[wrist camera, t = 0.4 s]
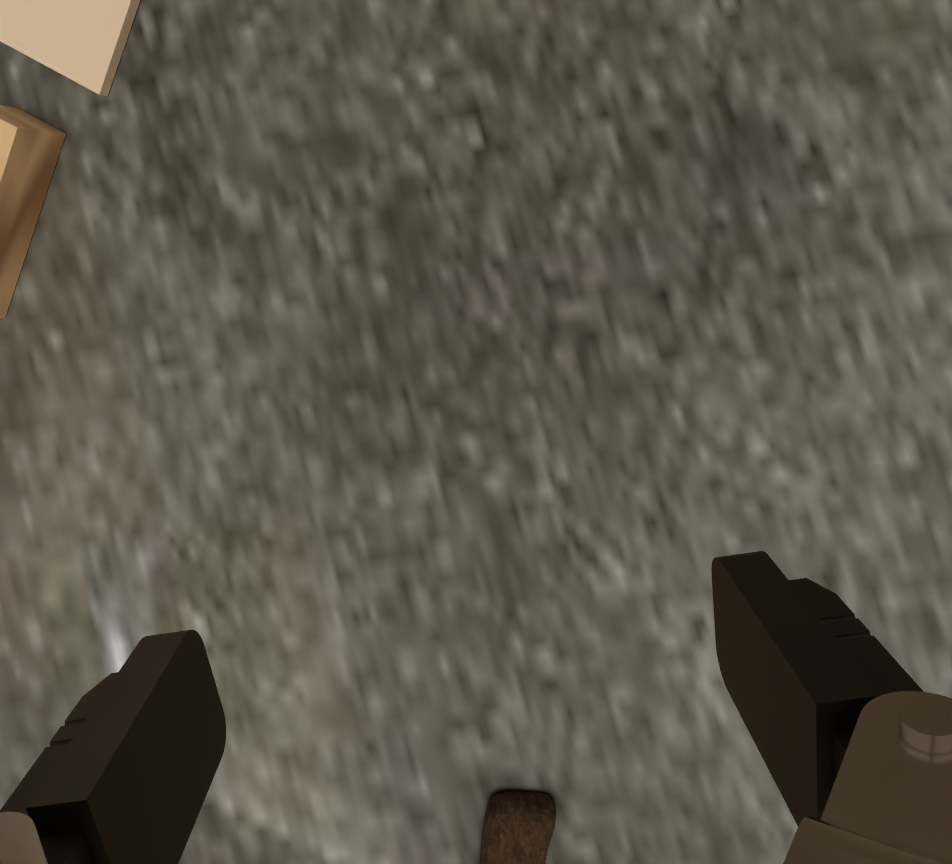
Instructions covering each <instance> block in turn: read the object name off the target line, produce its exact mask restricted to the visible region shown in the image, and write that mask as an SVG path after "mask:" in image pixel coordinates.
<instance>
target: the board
mask: <svg viewBox="0 0 952 864" xmlns="http://www.w3.org/2000/svg"><path fill="white" fill-rule="evenodd" d="M139 3H140V0H0V41H1V42H3V43H4V44H6V45H8V46H10V47H12V48H14V49H16V50H17V51H19V52H21V53H23V54H25V55H27V56H29V57H30V58H32V59H34V60H36V61H38V62H40V63H42V64H43V65H45V66H47V67H49V68H51V69H53V70H55V71H56V72H58V73H60V74H62V75H64V76H66V77H68V78H69V79H71V80H73V81H75V82H77V83H79V84H81V85H82V86H84V87H86V88H88V89H90V90H92V91H94V92H95V93H97V94H99V95H104V96H108V94H109V91H110V88H111V85H112V82H113V79H114V76H115V73H116V70H117V67H118V64H119V61H120V58H121V56H122V53H123V50H124V47H125V44H126V41H127V38H128V35H129V32H130V29H131V26H132V23H133V20H134V18H135V15H136V12H137V9H138V6H139Z"/></svg>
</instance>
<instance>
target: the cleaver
mask: <svg viewBox="0 0 952 864" xmlns="http://www.w3.org/2000/svg"><path fill="white" fill-rule="evenodd" d="M555 820H556V806H555V802H554V801H553V800H552V799H551V798H550V797H549V796H548V795H547V794H543V793H538V792H504V793H498V794H496V795H495V796H494V797H493V798H492V799H491V800H490V801H489V804H488V807H487V810H486V815H485V821H484V826H483V834H482V843H481V853H480V864H544V863H545V859H546V855H547V851H548V847H549V843H550V840H551V837H552V834H553V831H554V828H555Z"/></svg>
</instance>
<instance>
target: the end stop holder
mask: <svg viewBox="0 0 952 864" xmlns="http://www.w3.org/2000/svg"><path fill="white" fill-rule="evenodd" d="M65 136H66V133H64V132H62V131H60V130H58V129H56V128H55V127H53V126H51V125H49V124H47V123H45V122H43V121H41V120H40V119H38V118H36V117H34V116H32V115H30V114H28V113H26V112H25V111H23V110H21V109H19V108H16V107H10V106H3V105H0V319H3V318H5V317H6V314H7V311H8V308H9V305H10V302H11V299H12V296H13V293H14V290H15V287H16V284H17V281H18V278H19V275H20V272H21V269H22V266H23V263H24V260H25V257H26V254H27V251H28V248H29V245H30V241H31V238H32V235H33V232H34V229H35V226H36V223H37V220H38V217H39V214H40V211H41V208H42V205H43V202H44V199H45V196H46V193H47V190H48V187H49V184H50V181H51V178H52V175H53V172H54V169H55V166H56V163H57V160H58V157H59V154H60V151H61V148H62V145H63V142H64V139H65Z"/></svg>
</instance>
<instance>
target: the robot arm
mask: <svg viewBox="0 0 952 864" xmlns="http://www.w3.org/2000/svg"><path fill="white" fill-rule="evenodd" d="M712 588H713V604H714V621H715V637H716V650H717V657H718V662H719V666H720V670H721V674H722V677H723V680H724V683H725V685H726V688H727V690H728V692H729V694H730V696H731V698H732V700H733V701H734V703H735V705H736V707H737V709H738V711H739V713H740V715H741V717H742V719H743V721H744V723H745V725H746V727H747V729H748V730H749V732H750V734H751V736H752V738H753V740H754V742H755V744H756V746H757V748H758V750H759V752H760V754H761V756H762V758H763V759H764V761H765V763H766V765H767V767H768V769H769V771H770V773H771V775H772V777H773V779H774V781H775V783H776V785H777V787H778V788H779V790H780V792H781V794H782V796H783V798H784V800H785V802H786V804H787V806H788V808H789V810H790V812H791V814H792V816H793V817H794V819H795V821H796V823H797V825H798V829H797V831H796V834H795V836H794V839H793V841H792V844H791V846H790V849H789V851H788V854H787V856H786V859H785V861H784V863H783V864H952V698H949V697H945V696H942V695H938V694H933V693H927V692H923V690H922V689H921V688H920V687H919V686H918V685H917V684H916V683H915V682H914V680H913V679H912V678H911V677H910V676H909V675H908V674H907V673H906V671H905V670H904V669H903V668H902V667H901V666H900V665H899V664H898V663H897V661H896V660H895V659H894V658H893V657H892V656H891V655H890V654H889V652H888V651H887V650H886V649H885V648H884V647H883V646H882V645H881V643H880V642H879V641H878V640H877V639H876V638H875V637H874V636H871V635H870V631H869V630H868V629H867V628H866V627H865V626H864V624H863V623H862V622H861V621H860V620H859V619H858V618H857V619H855V615H854V613H853V612H852V611H851V610H850V609H849V608H848V607H847V605H846V604H845V603H844V602H843V601H842V600H841V599H840V598H839V596H838V595H837V594H836V593H834V592H832V591H830V590H828V589H826V588H824V587H822V586H820V585H819V584H817V583H815V582H813V581H811V580H809V579H807V578H803V579H796V580H788V579H787V578H786V577H785V575H784V574H783V573H782V572H781V570H780V569H779V568H778V567H777V565H776V564H775V563H774V562H773V561H772V559H771V558H770V557H769V556H768V554H767V553H766V552H764V551H759V552H751V553H744V554H737V555H730V556H723V557H716V558H714V559H713V562H712ZM225 741H226V723H225V715H224V711H223V707H222V704H221V701H220V697H219V694H218V691H217V687H216V684H215V680H214V677H213V674H212V670H211V667H210V663H209V660H208V657H207V653H206V650H205V647H204V643H203V641H202V638H201V636H200V635H199V633H198V632H197V631H195V630H187V631H180V632H173V633H165V634H158V635H151V636H146V637H144V638H142V639H141V640H140V642H139V643H138V645H137V646H136V647H135V649H134V650H133V652H132V653H131V655H130V656H129V658H128V659H127V661H126V662H125V664H124V665H123V666H122V668H121V669H120V671H119V672H118V673H111V674H110V675H109V676H107V677H106V678H105V679H104V680H102V681H101V682H100V683H99V684H98V685H96V686H95V687H94V688H93V689H91V690H90V691H89V692H88V693H86V694H85V695H84V696H83V697H82V698H81V699H80V701H79V702H78V704H77V705H76V706H75V708H74V709H73V711H72V712H71V713H70V715H69V716H68V717H67V719H66V720H65V726H61V727H60V728H59V730H58V731H57V733H56V734H55V735H54V737H53V738H52V740H51V741H50V747H46V748H45V749H44V751H43V752H42V753H41V755H40V756H39V758H38V759H37V760H36V762H35V763H34V764H33V766H32V767H31V769H30V770H29V771H28V773H27V774H26V775H25V777H24V778H23V780H22V781H21V782H20V784H19V785H18V787H17V788H16V789H15V791H14V792H13V793H12V795H11V796H10V798H9V799H8V800H7V802H6V803H5V805H4V806H3V807H2V809H1V810H0V864H178V863H179V861H180V858H181V856H182V853H183V851H184V848H185V846H186V843H187V841H188V839H189V836H190V834H191V831H192V829H193V826H194V824H195V821H196V819H197V817H198V814H199V812H200V809H201V807H202V804H203V802H204V800H205V797H206V795H207V792H208V790H209V787H210V785H211V782H212V780H213V778H214V775H215V773H216V770H217V768H218V765H219V763H220V760H221V758H222V755H223V752H224V748H225Z"/></svg>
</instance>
